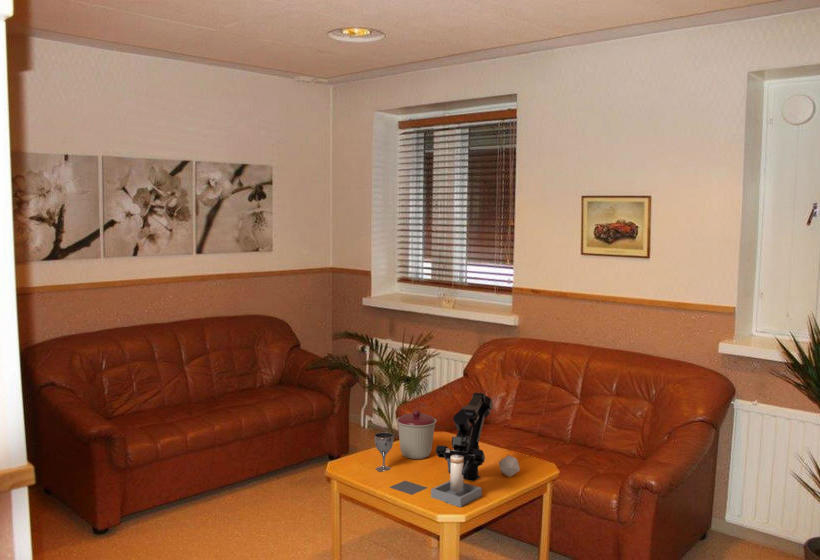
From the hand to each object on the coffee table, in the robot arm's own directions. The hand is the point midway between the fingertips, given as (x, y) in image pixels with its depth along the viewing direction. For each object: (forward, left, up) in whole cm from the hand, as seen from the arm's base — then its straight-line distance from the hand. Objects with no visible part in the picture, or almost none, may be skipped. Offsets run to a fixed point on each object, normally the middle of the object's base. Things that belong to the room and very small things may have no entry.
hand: (455, 473), depth 281 cm
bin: (-1, -1, -10) cm, 10 cm away
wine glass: (-6, -43, -10) cm, 44 cm away
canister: (-29, -44, -10) cm, 53 cm away
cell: (-1, -1, -7) cm, 7 cm away
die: (-36, +1, -10) cm, 38 cm away
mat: (+4, -21, -10) cm, 23 cm away
